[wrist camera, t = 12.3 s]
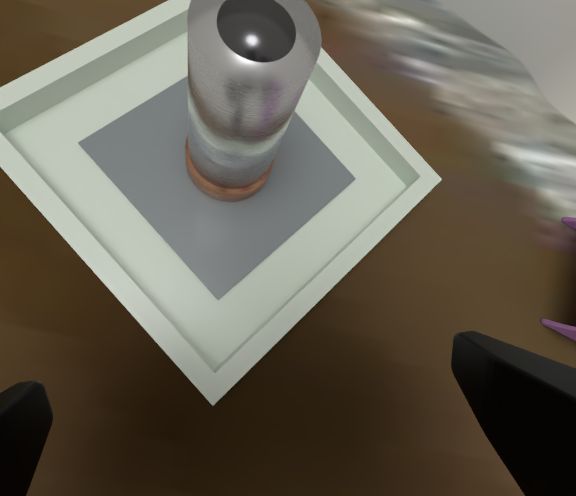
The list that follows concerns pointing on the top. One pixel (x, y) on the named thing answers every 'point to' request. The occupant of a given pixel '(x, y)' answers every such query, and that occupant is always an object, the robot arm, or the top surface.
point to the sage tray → (202, 194)
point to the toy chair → (566, 330)
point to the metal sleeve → (244, 88)
